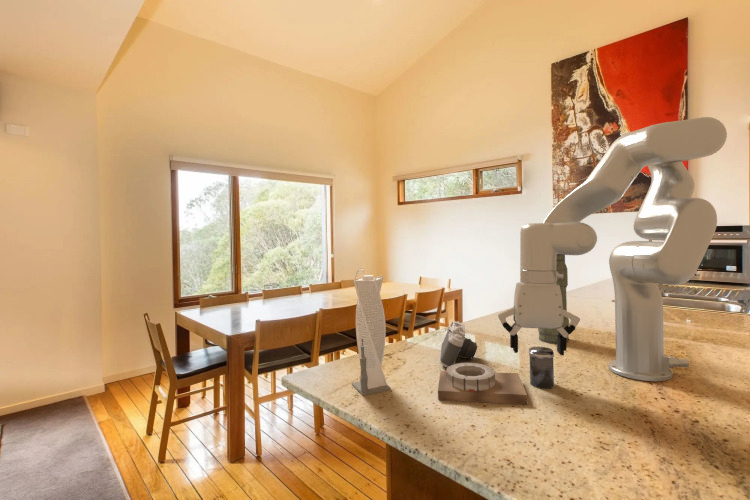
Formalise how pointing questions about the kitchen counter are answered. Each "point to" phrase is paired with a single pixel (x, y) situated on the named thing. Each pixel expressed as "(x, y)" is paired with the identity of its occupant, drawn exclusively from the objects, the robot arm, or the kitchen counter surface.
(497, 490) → the kitchen counter surface
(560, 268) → the thermos
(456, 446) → the kitchen counter surface
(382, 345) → the skyscraper
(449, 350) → the camera
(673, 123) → the robot arm
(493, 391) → the mount board
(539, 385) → the lens
